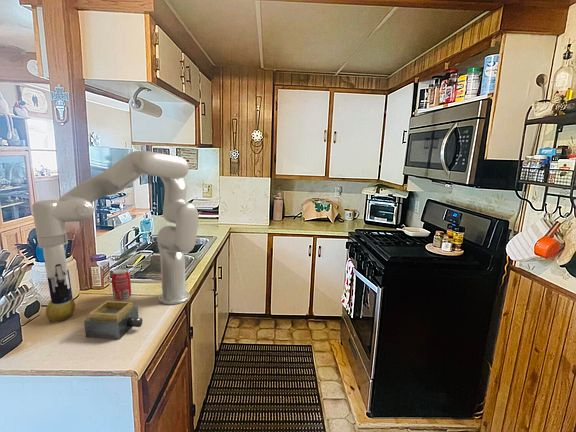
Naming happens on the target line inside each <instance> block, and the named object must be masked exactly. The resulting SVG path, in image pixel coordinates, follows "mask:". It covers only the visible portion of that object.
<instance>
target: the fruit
mask: <svg viewBox="0 0 576 432" xmlns="http://www.w3.org/2000/svg"><path fill="white" fill-rule="evenodd" d="M75 311H76V302H75V300H74V299H73V298H72V299H71V300H70V302H69V303H67V304H64V305H55V304H53V303H52V302H51V300H50V301H49V302H48V304H47V306H46V308H45V313H46V316H47V318H48V319H49V320H50V321H53V322H57V323H58V322H62V321H65V320H67V319H69V318H70V317H72V315H73V314H74V313H75Z"/></svg>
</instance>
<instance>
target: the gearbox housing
mask: <svg viewBox="0 0 576 432" xmlns="http://www.w3.org/2000/svg"><path fill="white" fill-rule="evenodd" d="M142 325H143V318H142V317H139V307H138V305H133V302H132V301H131V302H130V301H119V300H116V301H113V300H106V301H105V302H103V303H102V304H101V305H99V306H98V307H96V308H95V309H94V310H92V311H91V312H89V313H88V317H87V318H86V319H84V320H83V326H84V337H85V338H93V339H94V338H95V339H108V340H110V339H111V340H121V339H122V338H124V336H125V335H126V334H127V333H128V332H129V331H130V330H132V328H140V327H142Z"/></svg>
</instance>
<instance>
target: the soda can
mask: <svg viewBox="0 0 576 432" xmlns="http://www.w3.org/2000/svg"><path fill="white" fill-rule="evenodd" d="M111 289H112V290H111V291H112V296H113V299H114V300H116V301H124V300H127V299H129V297H131V296H132V283H131V273H130V272H129V270H128V269H127V268H117V269H115V270H113V271H112V275H111Z"/></svg>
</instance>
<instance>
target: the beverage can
mask: <svg viewBox="0 0 576 432" xmlns="http://www.w3.org/2000/svg"><path fill="white" fill-rule="evenodd" d="M55 267H56V266H55ZM64 273H65V272H64ZM55 277H57V275H55ZM46 278H47V282H48V290H49V294H50V301H51V302H52V303H53V304H55V305H64V304H67V303H69V302H70V300H71V299H72V298H73V291H72V285H71V279H70V278H71V277H70V272H69V268H68V267H67V275H66V276H65V279H66V284H67V287H68V294H69V295H68V296H67V297H63V298H59V299H57V298H56V293H55V280H54V278H51V279H49V278H48V276H47V275H46ZM57 280H58V278H57Z"/></svg>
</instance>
